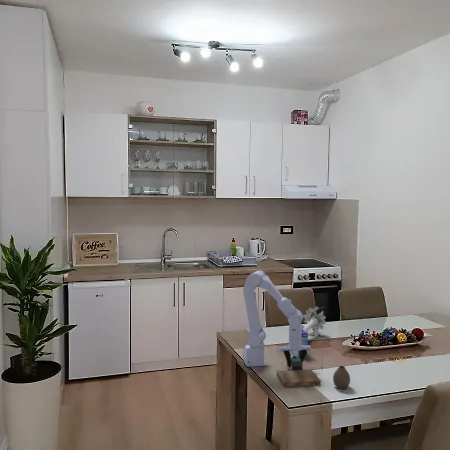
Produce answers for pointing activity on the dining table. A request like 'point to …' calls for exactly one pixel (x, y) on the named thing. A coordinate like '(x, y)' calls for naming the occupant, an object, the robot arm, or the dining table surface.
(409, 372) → the dining table surface
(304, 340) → the ink cartridge box
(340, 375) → the vase
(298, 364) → the gray teal block
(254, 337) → the robot arm
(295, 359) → the cover plate
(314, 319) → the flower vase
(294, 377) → the walnut stand
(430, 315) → the dining table surface
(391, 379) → the dining table surface
